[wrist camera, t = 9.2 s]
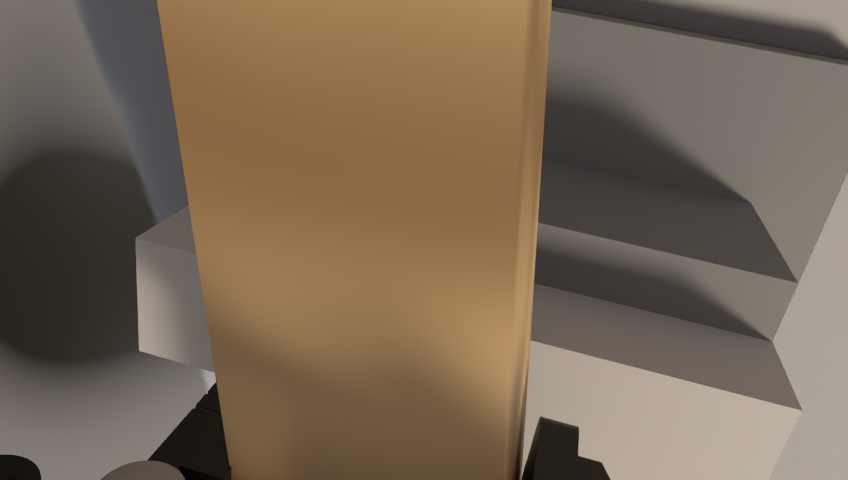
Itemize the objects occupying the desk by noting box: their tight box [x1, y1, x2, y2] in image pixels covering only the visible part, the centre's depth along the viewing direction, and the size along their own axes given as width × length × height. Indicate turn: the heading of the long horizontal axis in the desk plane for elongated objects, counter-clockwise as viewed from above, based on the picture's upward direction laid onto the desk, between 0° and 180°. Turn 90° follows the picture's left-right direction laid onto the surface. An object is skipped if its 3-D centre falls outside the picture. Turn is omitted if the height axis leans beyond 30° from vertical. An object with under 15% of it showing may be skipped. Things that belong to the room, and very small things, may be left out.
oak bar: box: [157, 0, 552, 480], centre depth 12 cm, size 24×4×4 cm, turn 0°
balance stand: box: [136, 6, 848, 480], centre depth 18 cm, size 14×18×9 cm
